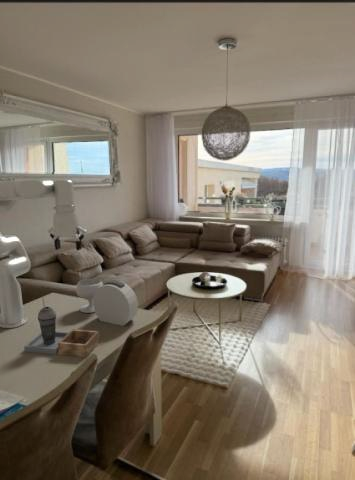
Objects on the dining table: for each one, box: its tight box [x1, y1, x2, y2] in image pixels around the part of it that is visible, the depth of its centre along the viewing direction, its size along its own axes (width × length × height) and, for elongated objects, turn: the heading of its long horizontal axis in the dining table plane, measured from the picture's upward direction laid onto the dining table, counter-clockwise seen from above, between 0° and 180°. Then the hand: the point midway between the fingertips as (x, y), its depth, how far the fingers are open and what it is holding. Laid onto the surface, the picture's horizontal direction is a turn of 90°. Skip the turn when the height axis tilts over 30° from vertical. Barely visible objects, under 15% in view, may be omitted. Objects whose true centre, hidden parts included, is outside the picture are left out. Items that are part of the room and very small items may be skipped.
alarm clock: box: [93, 279, 139, 327], centre depth 161 cm, size 21×8×20 cm, turn 65°
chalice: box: [75, 278, 104, 314], centre depth 175 cm, size 14×14×15 cm
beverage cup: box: [37, 296, 57, 345], centre depth 138 cm, size 7×7×20 cm
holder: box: [58, 329, 101, 358], centre depth 136 cm, size 12×12×5 cm
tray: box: [23, 330, 70, 355], centre depth 140 cm, size 14×14×2 cm
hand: (68, 249), depth 143 cm, fingers open, 9 cm apart
